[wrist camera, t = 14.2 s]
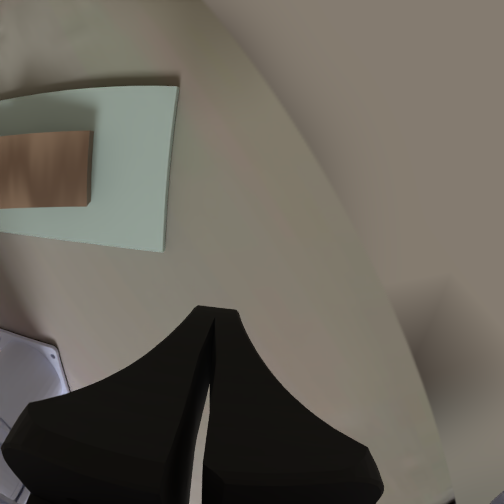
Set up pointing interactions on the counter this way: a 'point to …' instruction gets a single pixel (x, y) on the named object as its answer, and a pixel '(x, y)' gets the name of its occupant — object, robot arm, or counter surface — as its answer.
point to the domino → (46, 169)
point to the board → (103, 163)
